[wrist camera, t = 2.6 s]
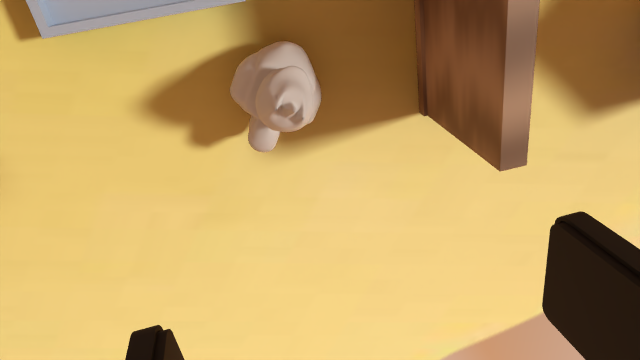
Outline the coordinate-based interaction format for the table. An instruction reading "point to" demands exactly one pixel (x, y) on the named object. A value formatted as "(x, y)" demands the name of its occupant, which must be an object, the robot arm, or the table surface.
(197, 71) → the table surface
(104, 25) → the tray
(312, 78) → the beige rounded figurine
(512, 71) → the walnut l-shaped block
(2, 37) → the table surface
